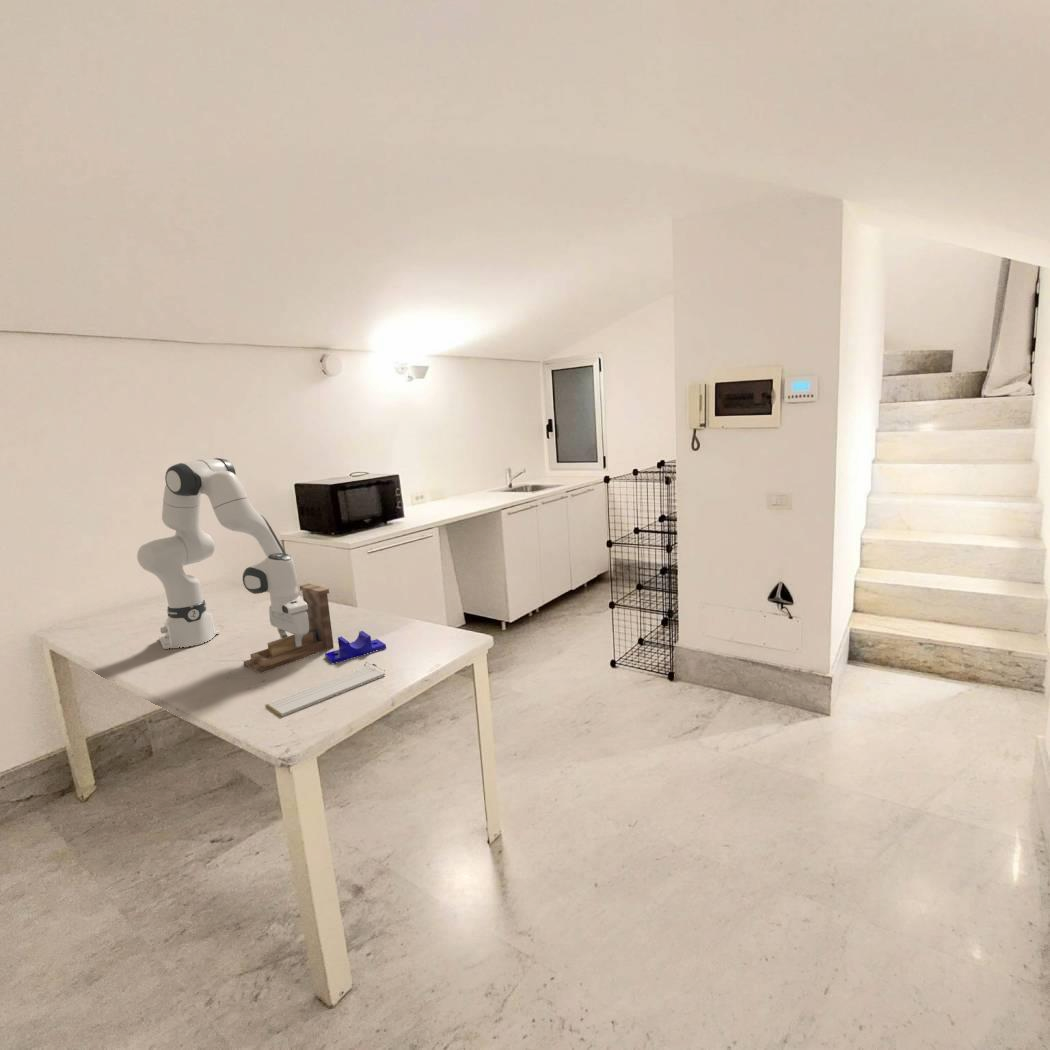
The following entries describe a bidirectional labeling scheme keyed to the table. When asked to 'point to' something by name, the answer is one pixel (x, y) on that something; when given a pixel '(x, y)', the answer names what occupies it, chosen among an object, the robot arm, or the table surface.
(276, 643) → the oak rail piece
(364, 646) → the mounting bracket
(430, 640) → the table surface
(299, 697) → the baseboard molding
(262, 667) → the wooden l-shaped stand
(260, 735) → the table surface
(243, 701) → the table surface
